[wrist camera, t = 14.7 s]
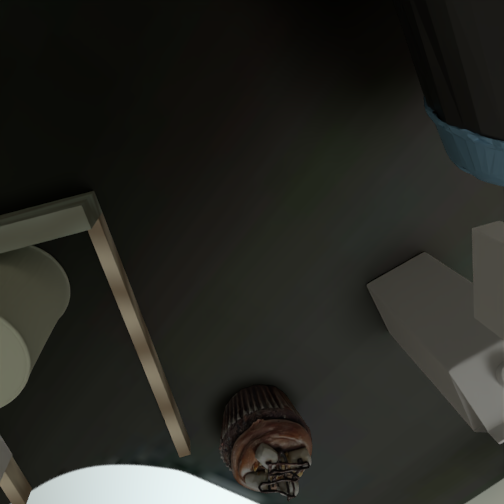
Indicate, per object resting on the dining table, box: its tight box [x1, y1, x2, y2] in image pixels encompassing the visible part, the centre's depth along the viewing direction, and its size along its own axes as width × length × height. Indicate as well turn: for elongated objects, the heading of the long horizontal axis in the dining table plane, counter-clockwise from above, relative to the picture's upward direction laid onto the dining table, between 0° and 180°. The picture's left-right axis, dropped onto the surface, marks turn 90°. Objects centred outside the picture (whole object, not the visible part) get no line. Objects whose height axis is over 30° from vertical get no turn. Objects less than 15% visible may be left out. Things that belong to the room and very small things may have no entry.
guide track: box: [0, 191, 190, 504], centre depth 39 cm, size 30×19×5 cm, turn 13°
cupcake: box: [219, 385, 312, 501], centre depth 44 cm, size 10×10×10 cm
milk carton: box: [366, 252, 504, 444], centre depth 37 cm, size 7×7×19 cm
